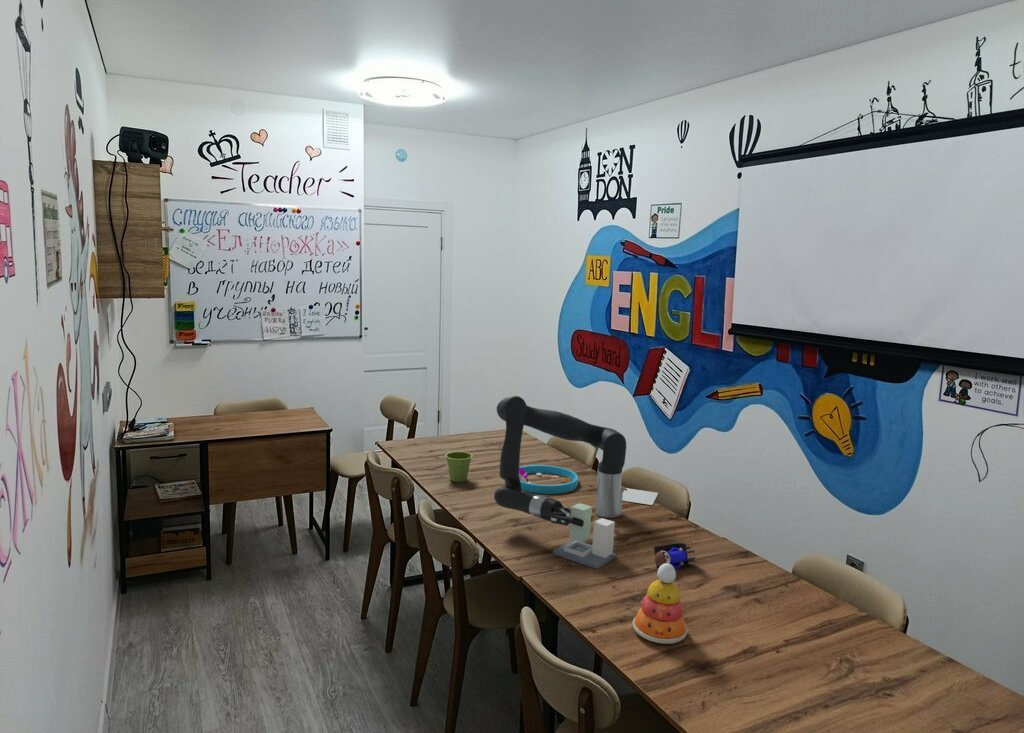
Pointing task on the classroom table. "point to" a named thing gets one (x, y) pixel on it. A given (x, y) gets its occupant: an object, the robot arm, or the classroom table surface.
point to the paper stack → (639, 496)
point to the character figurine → (673, 555)
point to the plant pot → (458, 465)
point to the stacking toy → (661, 610)
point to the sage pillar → (584, 514)
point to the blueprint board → (582, 554)
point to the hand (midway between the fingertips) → (587, 521)
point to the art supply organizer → (552, 470)
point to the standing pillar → (603, 538)
